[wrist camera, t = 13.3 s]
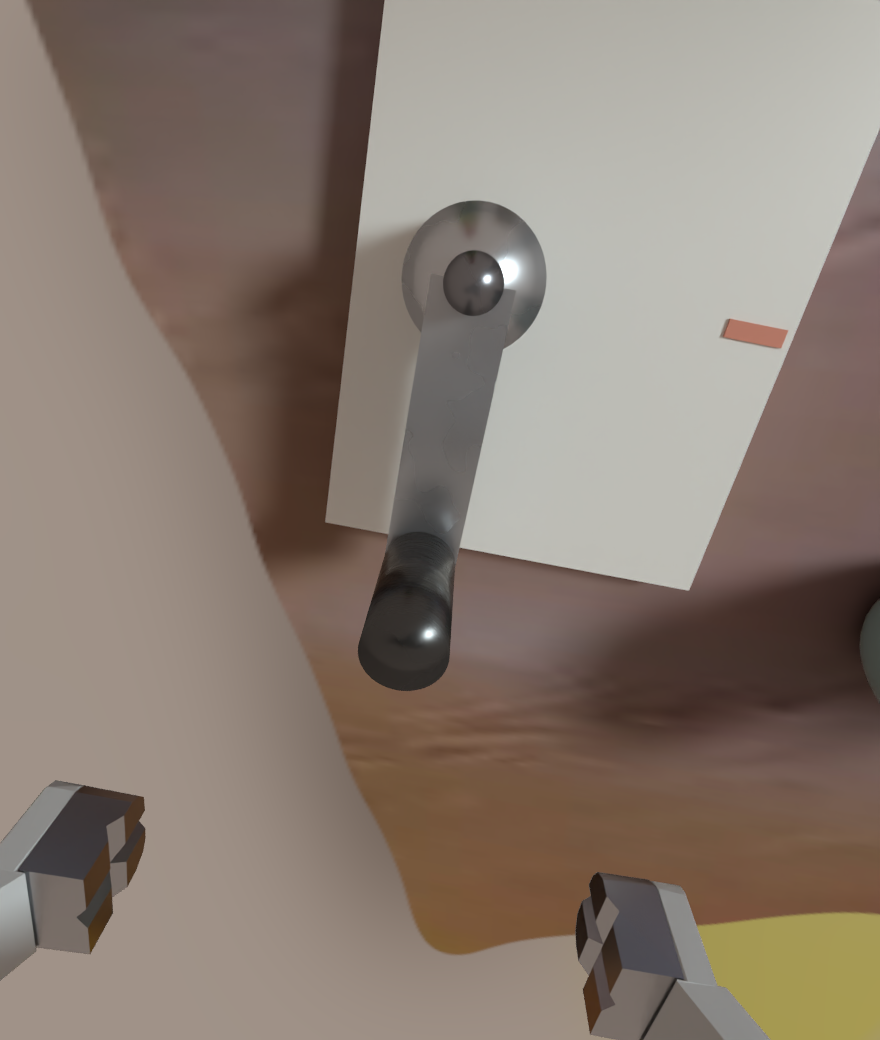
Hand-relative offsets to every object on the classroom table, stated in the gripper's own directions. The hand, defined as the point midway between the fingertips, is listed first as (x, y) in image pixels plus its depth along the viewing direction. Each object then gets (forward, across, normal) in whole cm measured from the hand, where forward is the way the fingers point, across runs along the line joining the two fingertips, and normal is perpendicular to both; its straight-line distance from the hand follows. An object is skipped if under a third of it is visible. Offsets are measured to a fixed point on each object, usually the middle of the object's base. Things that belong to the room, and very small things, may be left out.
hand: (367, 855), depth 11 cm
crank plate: (+16, -4, -9) cm, 18 cm away
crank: (+14, 0, -5) cm, 15 cm away
